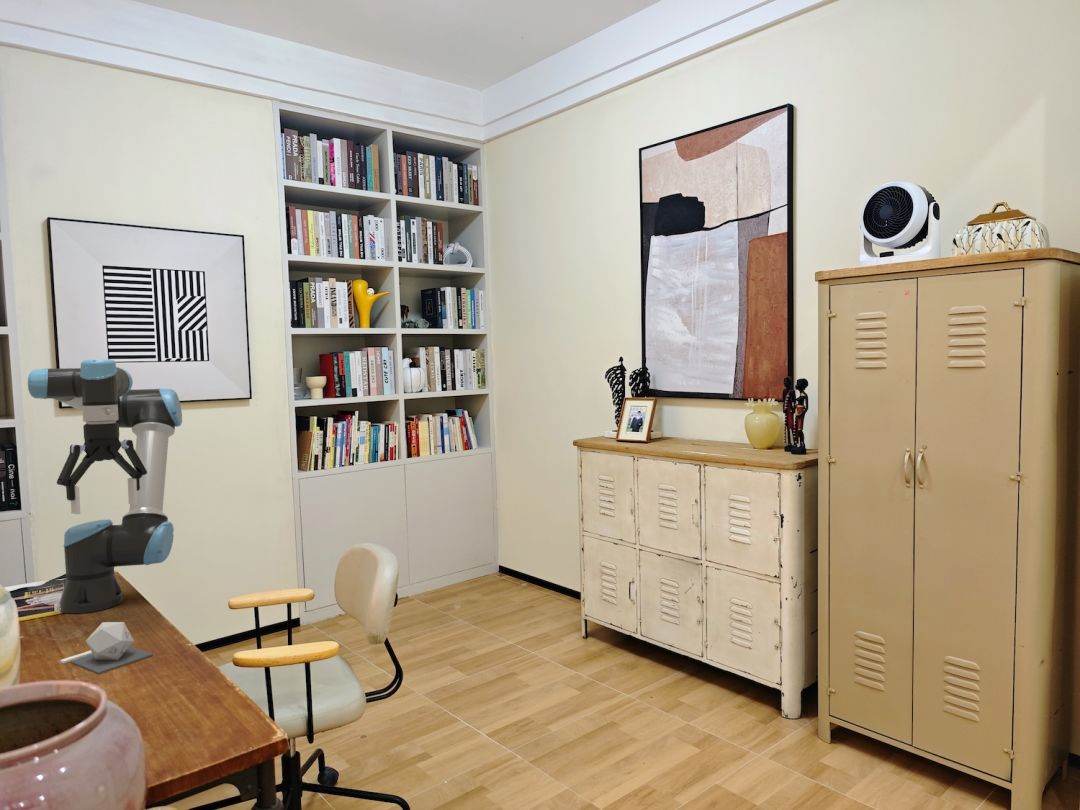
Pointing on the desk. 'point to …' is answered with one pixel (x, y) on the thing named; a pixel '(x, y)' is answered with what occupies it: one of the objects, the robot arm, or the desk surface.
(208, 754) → the desk surface
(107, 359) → the robot arm
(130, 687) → the desk surface
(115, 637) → the die
